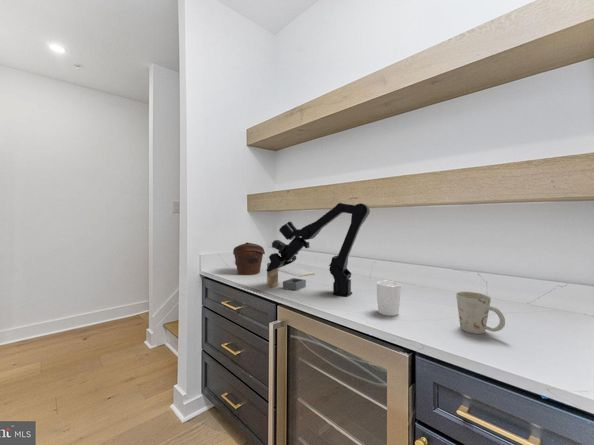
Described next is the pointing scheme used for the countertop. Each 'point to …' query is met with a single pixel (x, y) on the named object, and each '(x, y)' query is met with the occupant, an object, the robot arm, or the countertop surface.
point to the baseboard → (294, 271)
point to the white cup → (388, 297)
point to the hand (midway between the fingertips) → (271, 269)
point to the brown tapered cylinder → (248, 258)
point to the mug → (476, 312)
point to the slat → (272, 277)
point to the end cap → (294, 284)
